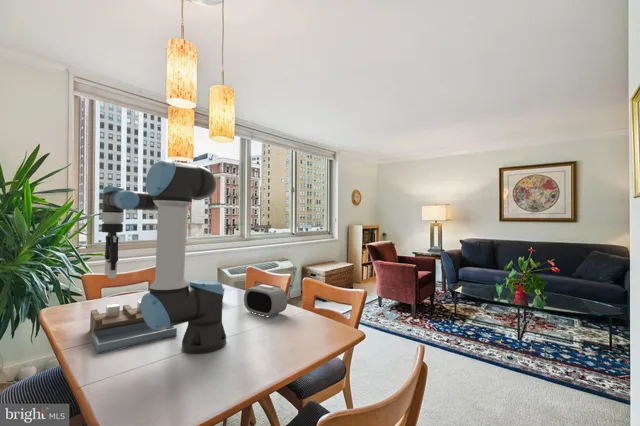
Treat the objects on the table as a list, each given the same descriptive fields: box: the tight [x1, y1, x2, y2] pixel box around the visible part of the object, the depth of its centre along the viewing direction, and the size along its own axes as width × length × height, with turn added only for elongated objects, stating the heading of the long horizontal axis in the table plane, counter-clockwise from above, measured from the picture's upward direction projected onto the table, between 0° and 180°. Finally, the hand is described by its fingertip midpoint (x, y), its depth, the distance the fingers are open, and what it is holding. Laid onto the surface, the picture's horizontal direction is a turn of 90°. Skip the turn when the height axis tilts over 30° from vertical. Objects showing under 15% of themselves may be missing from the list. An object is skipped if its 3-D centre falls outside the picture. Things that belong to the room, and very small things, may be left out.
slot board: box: [89, 304, 145, 335], centre depth 124 cm, size 15×24×8 cm, turn 133°
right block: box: [136, 300, 141, 313], centre depth 129 cm, size 4×4×4 cm
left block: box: [105, 303, 121, 318], centre depth 121 cm, size 4×4×4 cm
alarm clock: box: [243, 284, 288, 317], centre depth 149 cm, size 21×10×13 cm, turn 56°
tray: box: [91, 322, 178, 354], centre depth 115 cm, size 16×25×3 cm, turn 133°
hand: (110, 276), depth 128 cm, fingers open, 9 cm apart
